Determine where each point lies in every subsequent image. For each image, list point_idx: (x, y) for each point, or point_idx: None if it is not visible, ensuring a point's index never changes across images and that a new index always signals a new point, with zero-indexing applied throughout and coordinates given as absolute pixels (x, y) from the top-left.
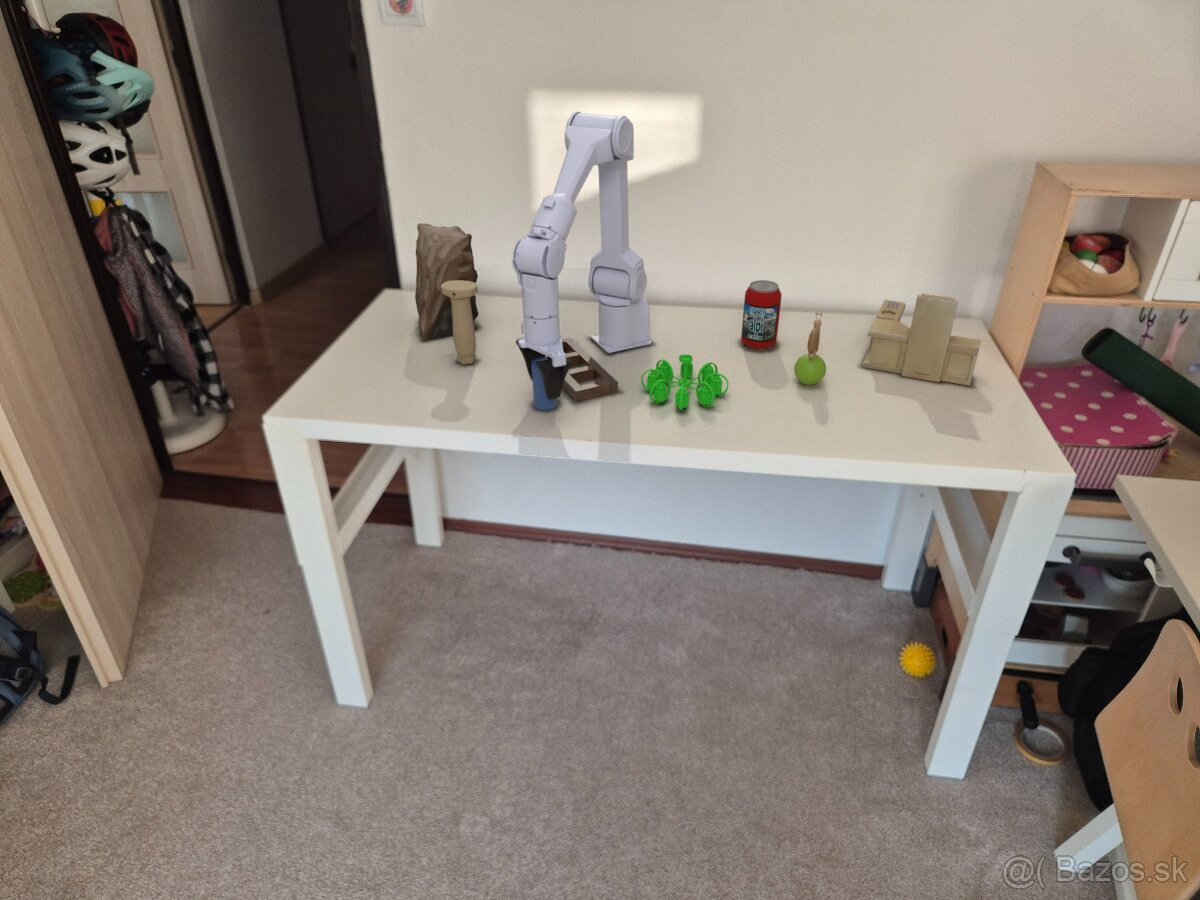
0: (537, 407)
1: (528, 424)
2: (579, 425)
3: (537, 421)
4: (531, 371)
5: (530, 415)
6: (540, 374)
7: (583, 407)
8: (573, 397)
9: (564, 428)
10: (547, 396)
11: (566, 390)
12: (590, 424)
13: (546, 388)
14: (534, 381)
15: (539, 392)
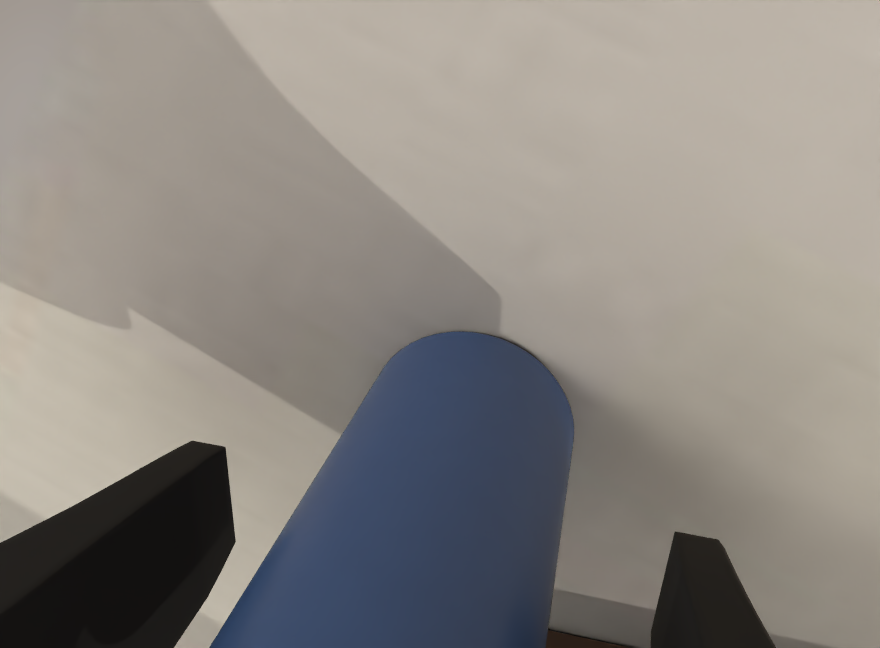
0: (425, 341)
1: (223, 141)
2: (93, 442)
3: (243, 232)
4: (685, 626)
5: (364, 231)
6: (223, 634)
7: None
8: None
9: (82, 346)
10: (176, 453)
11: (582, 644)
12: (87, 497)
13: (70, 507)
14: (358, 508)
15: (346, 446)
